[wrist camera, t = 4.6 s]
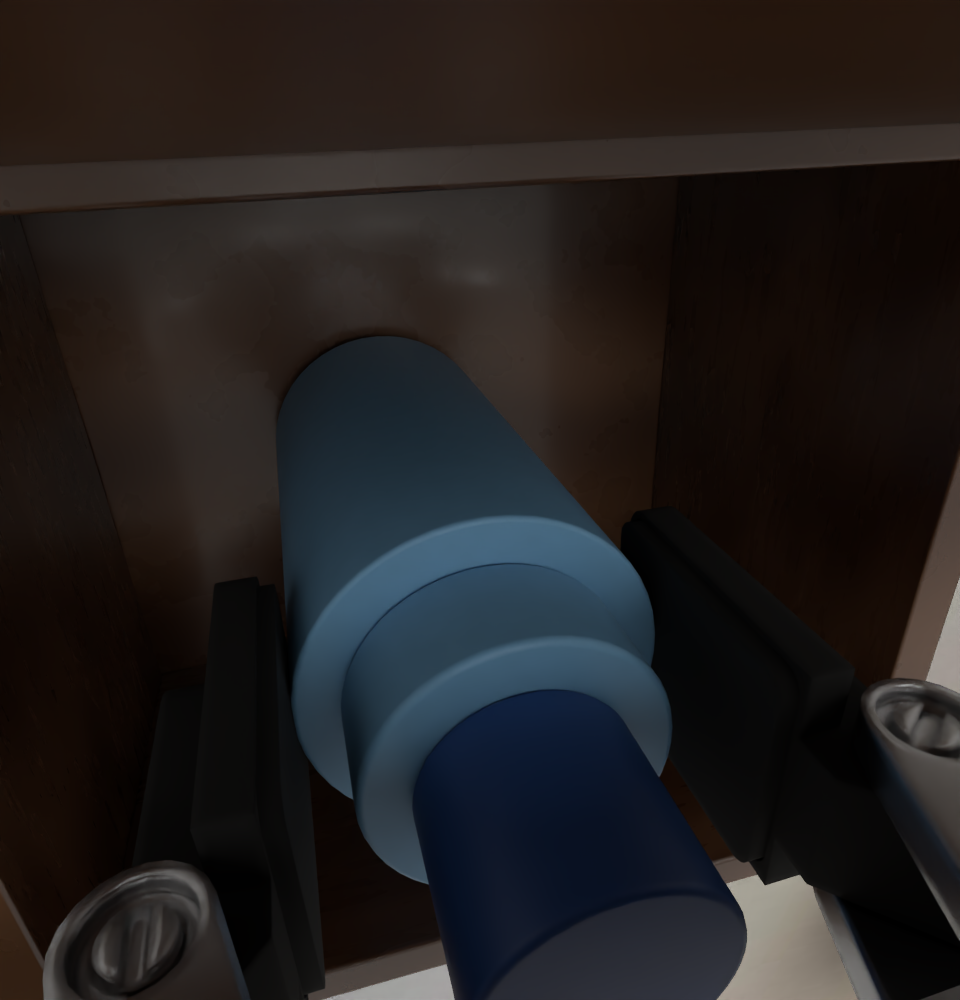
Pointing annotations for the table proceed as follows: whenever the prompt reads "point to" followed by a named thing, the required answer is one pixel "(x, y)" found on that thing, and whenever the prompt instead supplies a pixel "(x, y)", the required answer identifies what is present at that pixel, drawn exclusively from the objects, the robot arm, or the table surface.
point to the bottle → (487, 689)
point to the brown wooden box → (503, 381)
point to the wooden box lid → (456, 72)
